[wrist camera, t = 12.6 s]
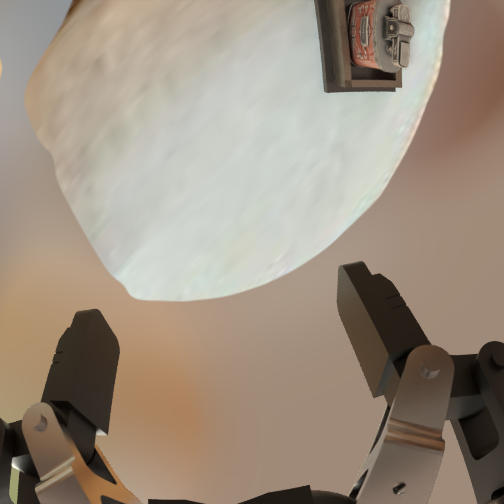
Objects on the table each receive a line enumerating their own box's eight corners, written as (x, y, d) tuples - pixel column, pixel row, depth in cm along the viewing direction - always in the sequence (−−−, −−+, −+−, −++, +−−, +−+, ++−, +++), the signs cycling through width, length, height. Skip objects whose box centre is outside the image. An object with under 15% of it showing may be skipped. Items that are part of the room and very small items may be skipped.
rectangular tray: (324, 91, 32) (337, 96, 29) (311, -21, 24) (323, -28, 21) (391, 90, 32) (408, 95, 29) (382, -14, 24) (400, -18, 21)
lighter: (343, 0, 25) (389, -13, 17) (371, 5, 25) (421, -3, 17) (343, 65, 29) (388, 72, 21) (369, 68, 30) (419, 78, 22)
